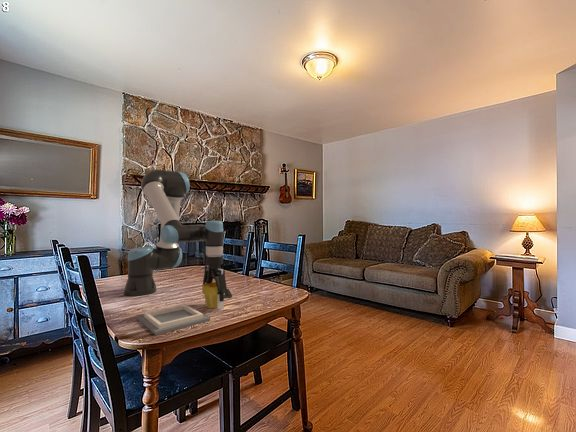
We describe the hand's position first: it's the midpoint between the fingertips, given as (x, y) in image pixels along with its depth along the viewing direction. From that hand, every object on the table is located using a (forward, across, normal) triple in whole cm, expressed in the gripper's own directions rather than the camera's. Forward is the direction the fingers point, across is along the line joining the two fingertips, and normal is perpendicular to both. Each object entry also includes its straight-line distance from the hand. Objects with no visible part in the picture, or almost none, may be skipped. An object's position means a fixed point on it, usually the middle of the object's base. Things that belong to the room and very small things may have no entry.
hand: (214, 305), depth 130 cm
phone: (+1, +15, -13) cm, 20 cm away
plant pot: (+1, 0, 0) cm, 1 cm away
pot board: (0, -5, +20) cm, 21 cm away
